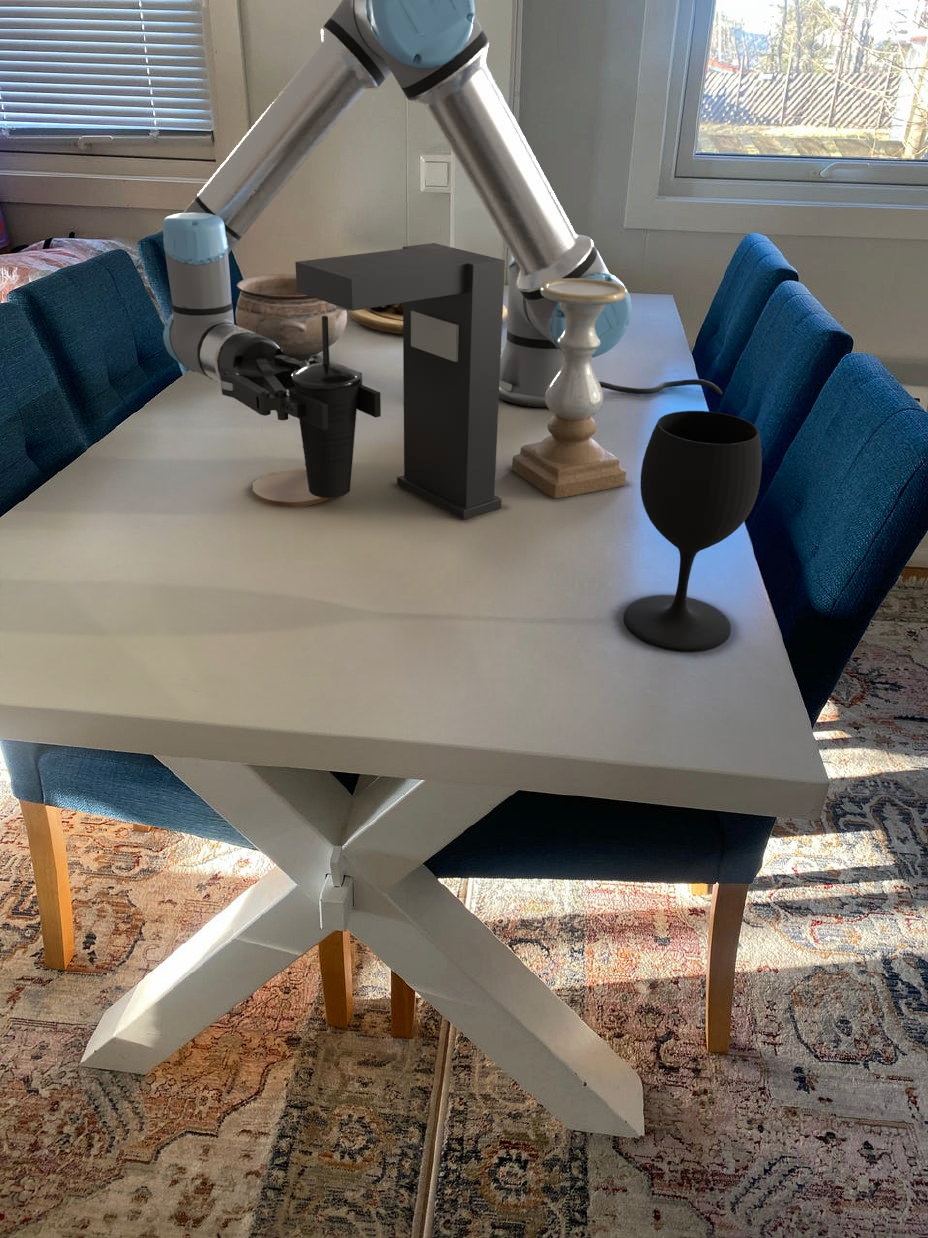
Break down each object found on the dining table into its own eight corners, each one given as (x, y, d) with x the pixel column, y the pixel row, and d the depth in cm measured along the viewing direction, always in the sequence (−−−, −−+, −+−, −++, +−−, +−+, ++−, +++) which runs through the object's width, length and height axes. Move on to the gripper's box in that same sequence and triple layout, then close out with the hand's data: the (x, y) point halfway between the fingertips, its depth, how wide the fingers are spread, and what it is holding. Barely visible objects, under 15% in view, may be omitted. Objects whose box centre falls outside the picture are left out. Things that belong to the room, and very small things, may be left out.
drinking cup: (351, 506, 111) (348, 327, 100) (287, 498, 112) (278, 321, 102) (370, 481, 117) (369, 311, 107) (309, 474, 118) (302, 305, 108)
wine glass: (612, 598, 99) (635, 407, 88) (712, 596, 100) (746, 407, 89) (636, 654, 90) (665, 448, 80) (746, 651, 91) (787, 447, 80)
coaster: (341, 474, 125) (341, 470, 125) (332, 507, 116) (332, 503, 116) (260, 472, 125) (260, 468, 125) (245, 505, 116) (245, 501, 116)
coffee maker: (433, 474, 126) (436, 241, 111) (501, 507, 117) (513, 260, 103) (303, 513, 115) (287, 259, 100) (367, 552, 106) (360, 281, 92)
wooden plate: (416, 293, 217) (416, 254, 212) (537, 316, 201) (540, 274, 197) (316, 319, 194) (314, 276, 190) (444, 347, 178) (445, 301, 174)
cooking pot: (243, 338, 181) (237, 269, 174) (346, 337, 183) (343, 269, 177) (234, 377, 159) (227, 301, 153) (350, 376, 162) (348, 300, 156)
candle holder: (554, 499, 120) (569, 300, 108) (509, 468, 128) (519, 280, 116) (626, 485, 124) (649, 292, 112) (579, 456, 133) (595, 274, 121)
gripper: (311, 378, 128) (421, 426, 113) (176, 406, 117) (277, 463, 102) (308, 320, 124) (421, 362, 109) (168, 343, 113) (272, 393, 98)
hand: (351, 410), depth 106 cm, fingers closed on drinking cup, 6 cm apart
